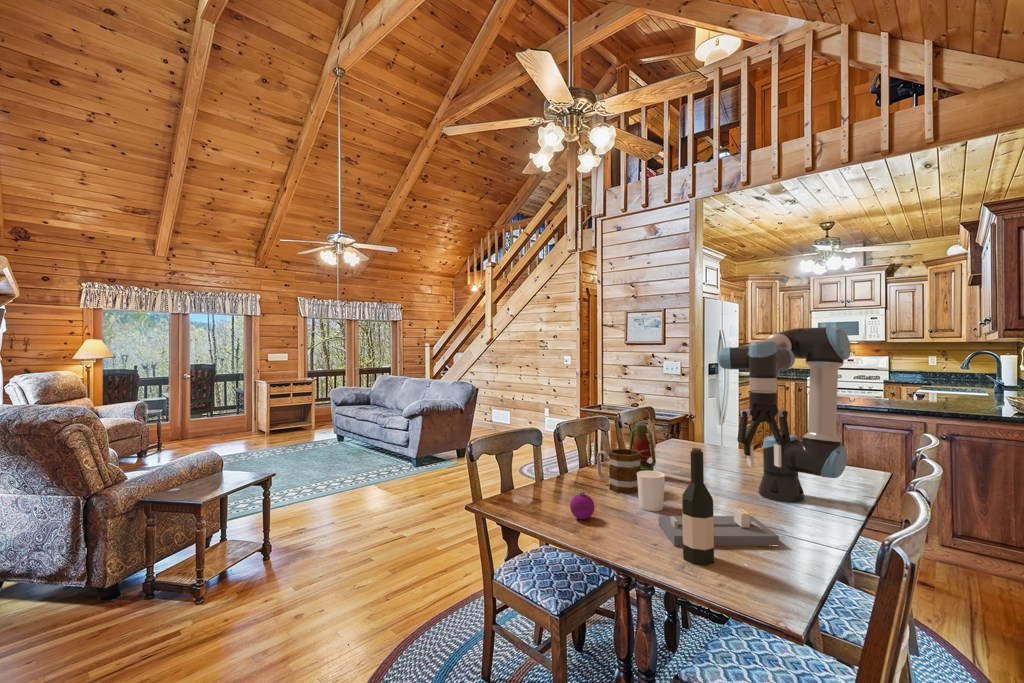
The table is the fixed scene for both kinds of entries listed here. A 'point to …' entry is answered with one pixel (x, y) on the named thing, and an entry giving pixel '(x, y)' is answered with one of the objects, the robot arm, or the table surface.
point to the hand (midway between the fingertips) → (764, 466)
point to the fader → (741, 517)
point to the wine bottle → (697, 516)
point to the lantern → (643, 443)
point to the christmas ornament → (582, 505)
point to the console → (723, 532)
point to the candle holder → (651, 490)
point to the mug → (622, 469)
